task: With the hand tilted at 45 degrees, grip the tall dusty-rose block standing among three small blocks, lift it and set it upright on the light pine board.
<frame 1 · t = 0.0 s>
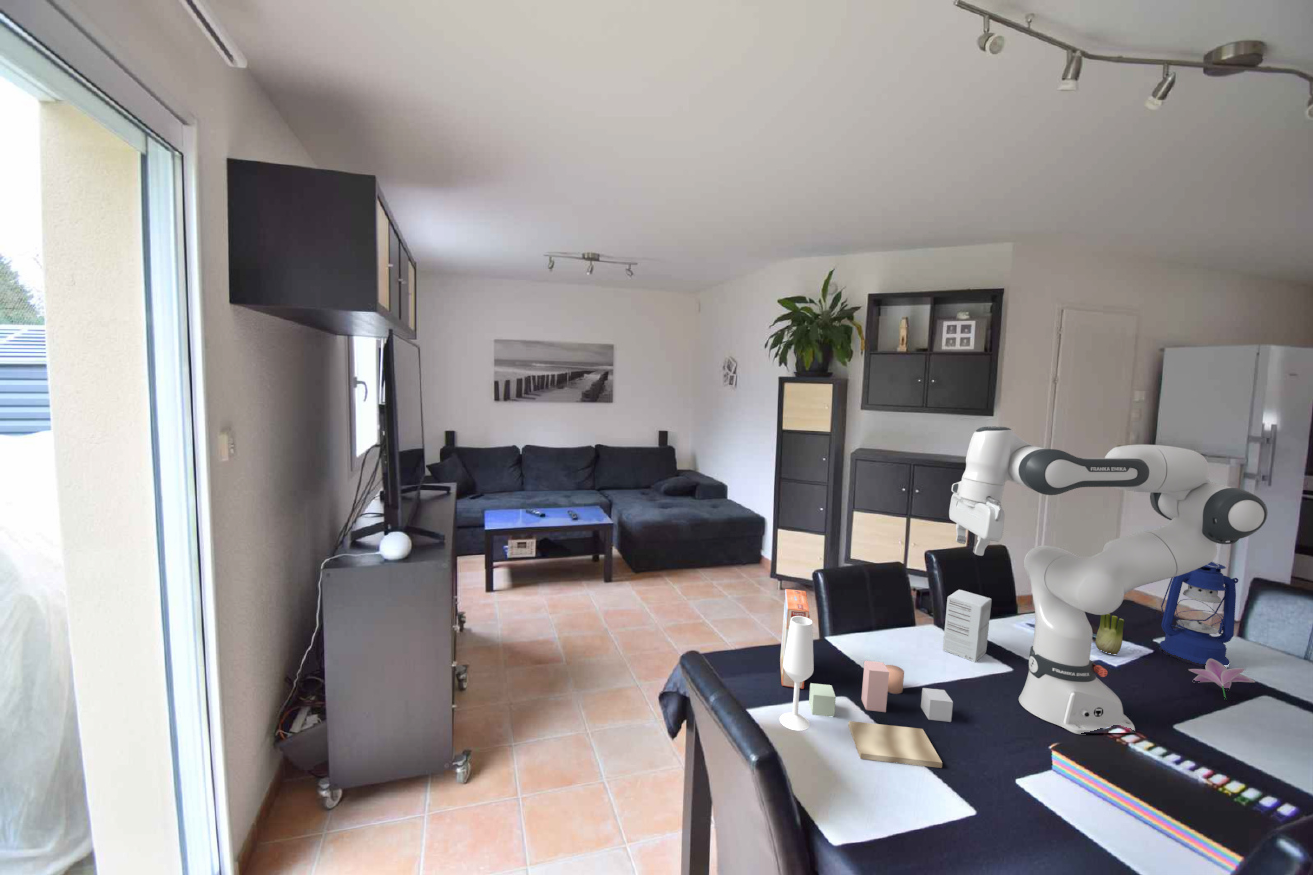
hand: (968, 548, 132), 39 cm above the table, tool pointing down, fingers open, 8 cm apart
rose block: (873, 705, 132), on the table
terracotta cylinder: (891, 688, 140), on the table
sage painted block: (821, 709, 130), on the table
supplement box: (964, 652, 162), on the table
cracker box: (791, 675, 145), on the table
champagne flute: (794, 722, 125), on the table
fennel bulb: (1106, 653, 165), on the table
grey plastic block: (935, 714, 130), on the table
pine board: (892, 745, 117), on the table
lily: (1217, 694, 144), on the table
lantern: (1193, 656, 165), on the table
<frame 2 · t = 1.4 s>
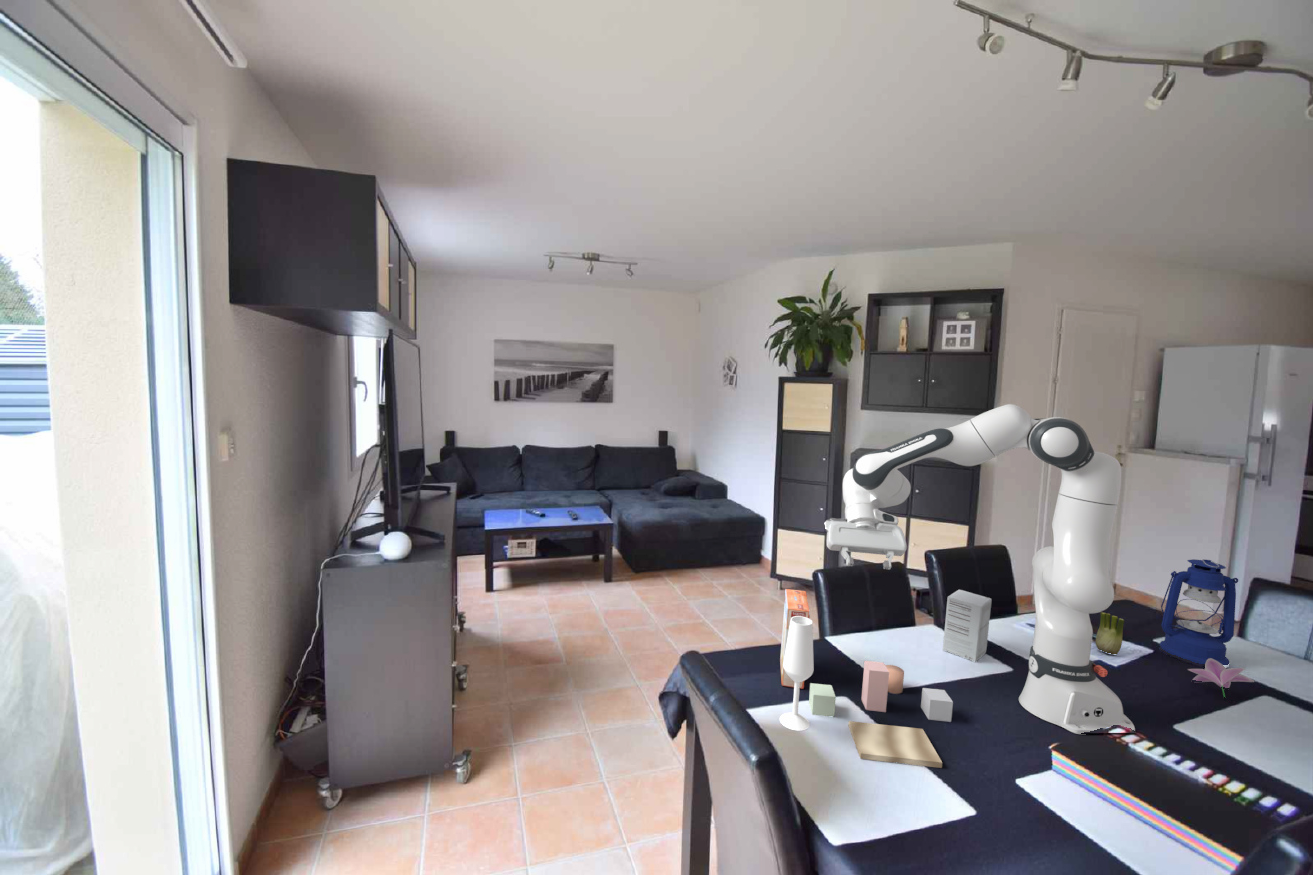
hand: (868, 566, 142), 30 cm above the table, tool tilted 45°, fingers open, 8 cm apart
nothing on the table moved.
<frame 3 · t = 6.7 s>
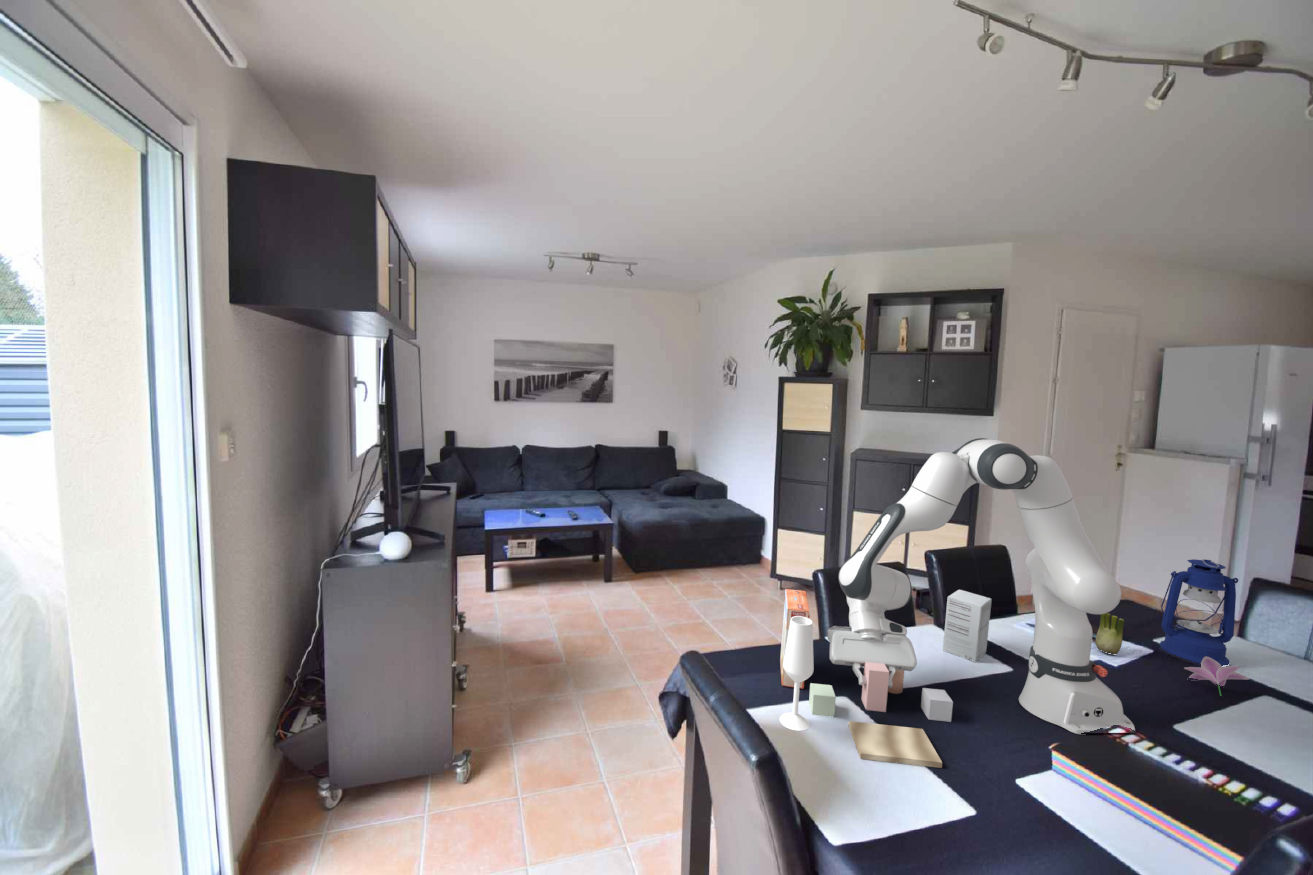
hand: (875, 685, 131), 5 cm above the table, tool tilted 45°, fingers closed on rose block, 4 cm apart
rose block: (873, 705, 132), on the table, touching gripper
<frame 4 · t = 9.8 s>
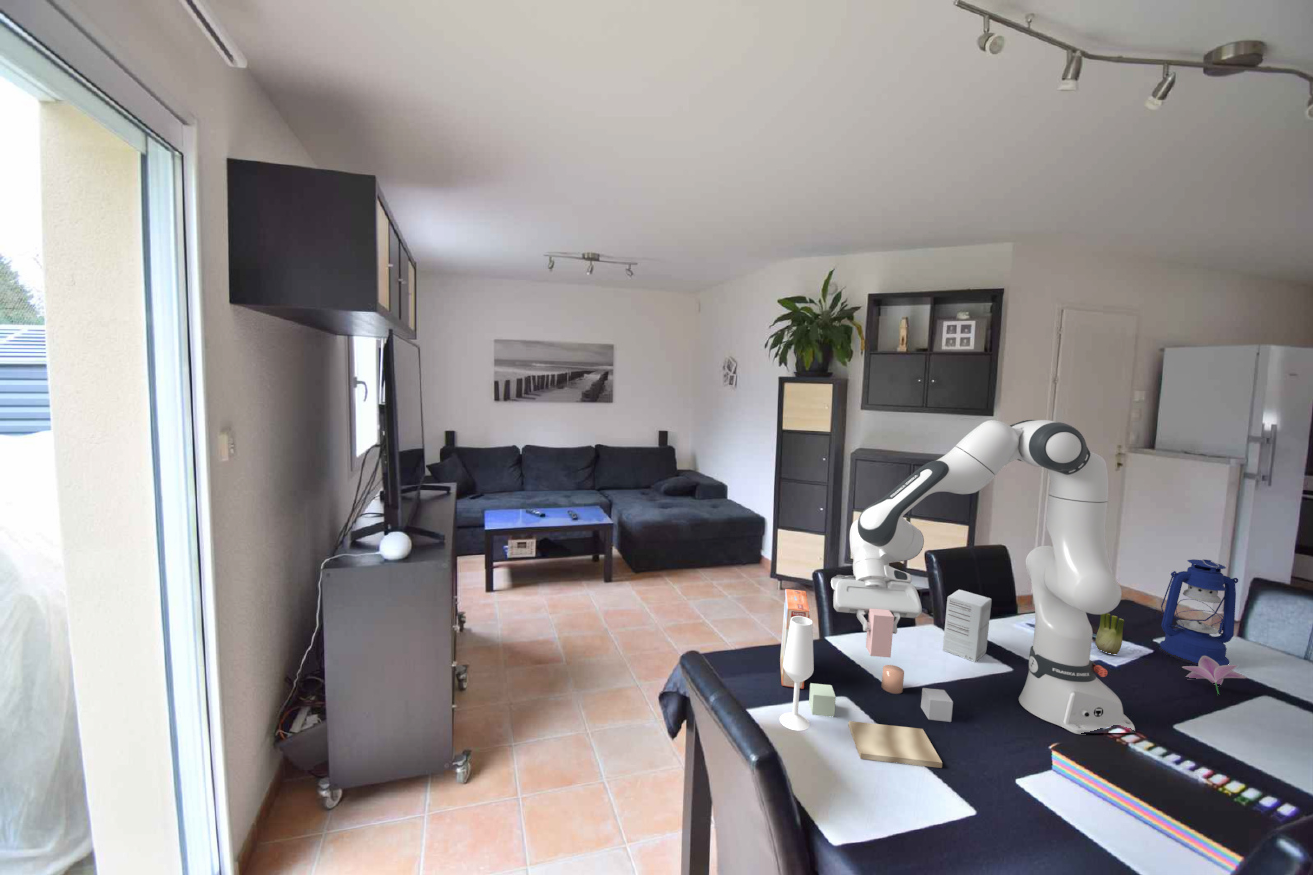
hand: (880, 631, 130), 19 cm above the table, tool tilted 45°, fingers closed on rose block, 4 cm apart
rose block: (877, 652, 131), point 14 cm above the table, touching gripper
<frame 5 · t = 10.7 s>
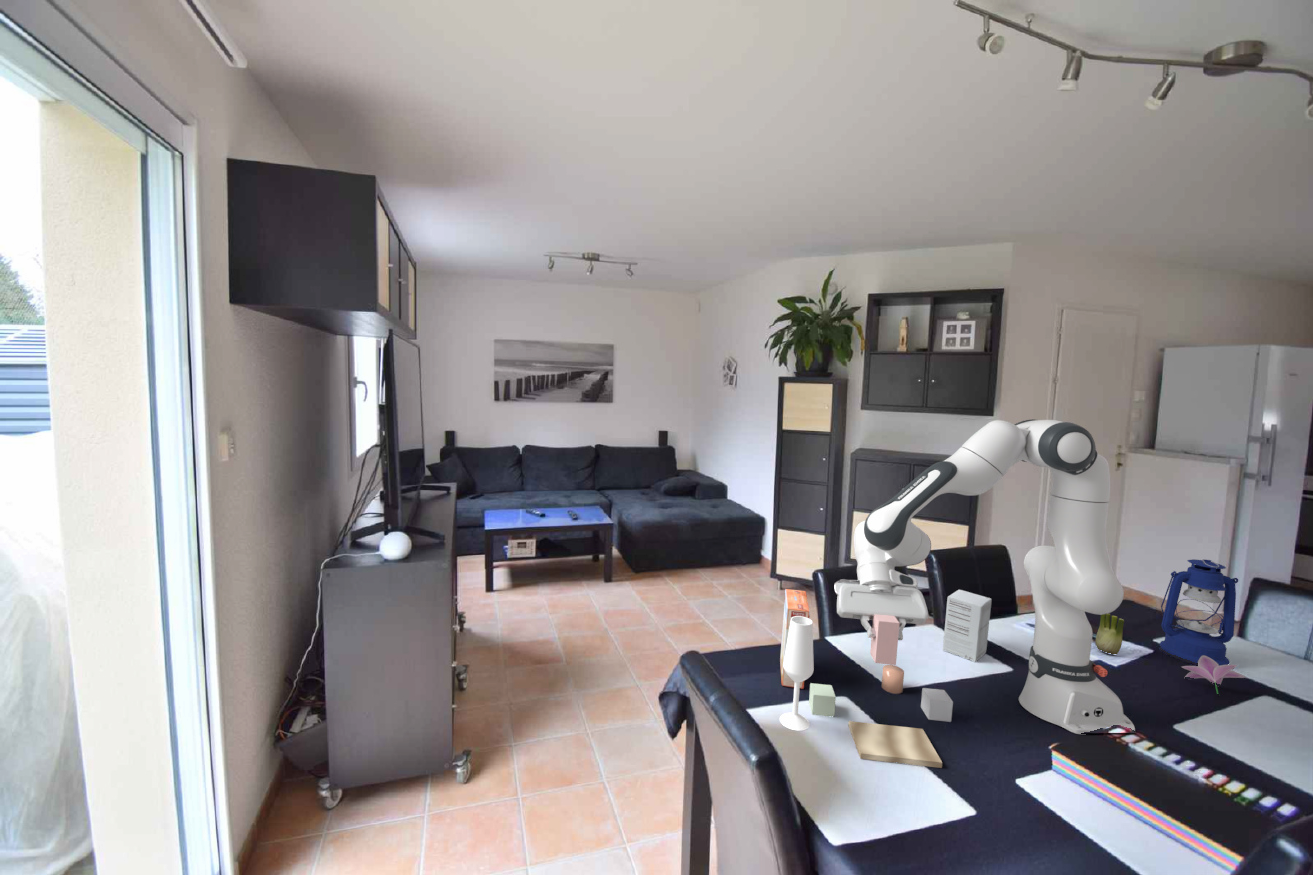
hand: (885, 638, 125), 19 cm above the table, tool tilted 45°, fingers closed on rose block, 4 cm apart
rose block: (882, 659, 127), point 14 cm above the table, touching gripper
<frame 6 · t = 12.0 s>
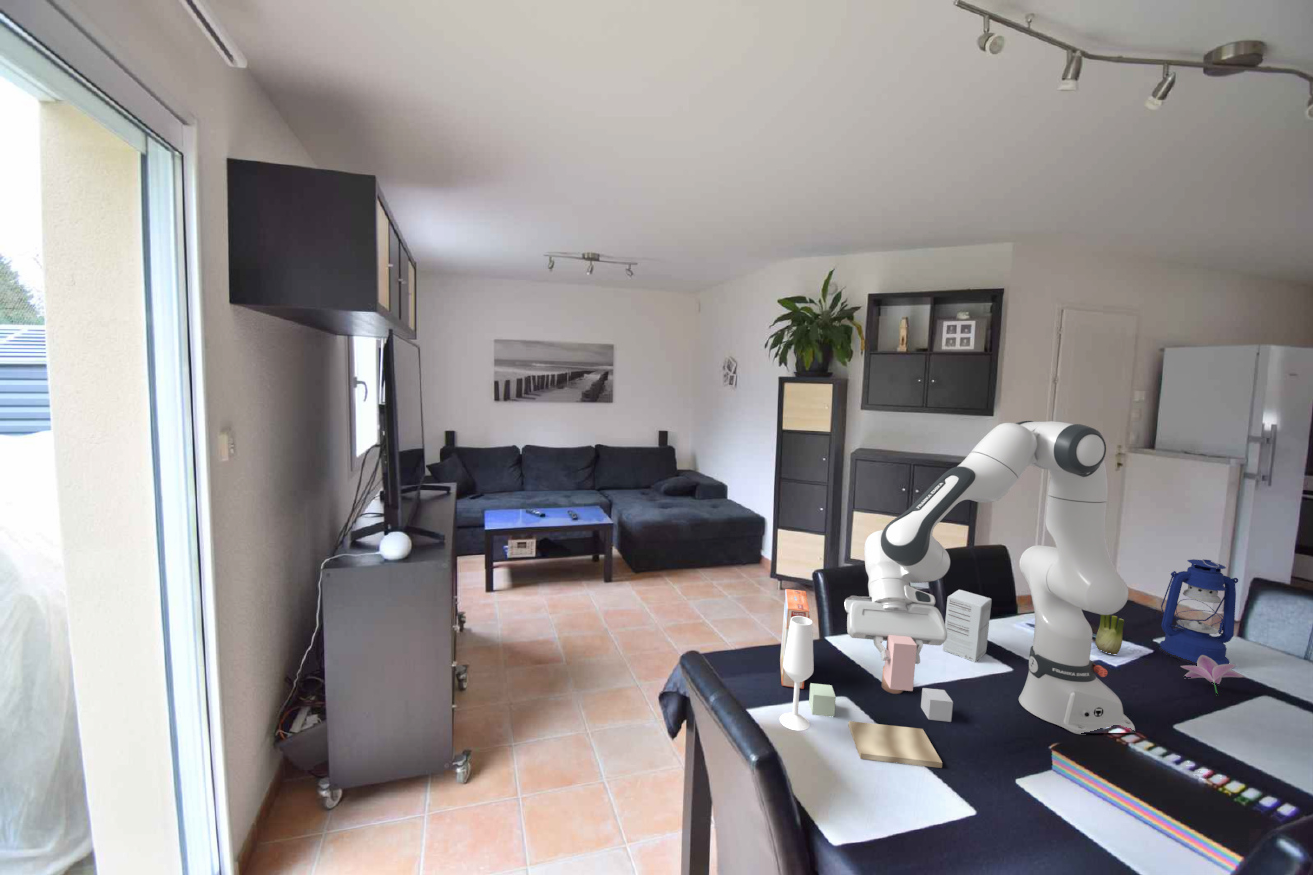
hand: (901, 661, 115), 19 cm above the table, tool tilted 45°, fingers closed on rose block, 4 cm apart
rose block: (897, 684, 116), point 14 cm above the table, touching gripper
when the fingers open (8 cm above the table, at t = 15.3 s): rose block drops 1 cm, resting on pine board.
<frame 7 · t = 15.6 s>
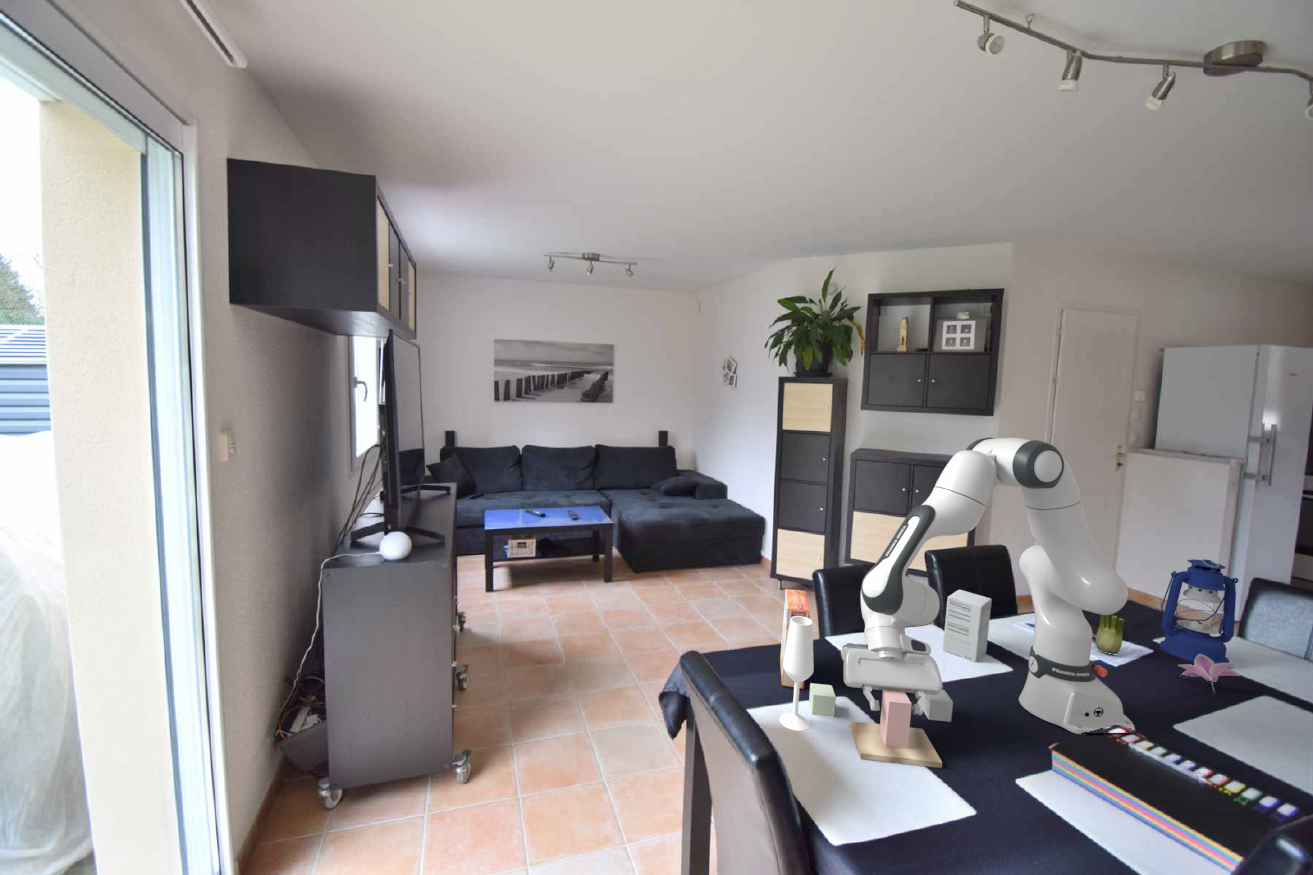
hand: (896, 712, 116), 8 cm above the table, tool tilted 45°, fingers open, 7 cm apart
rose block: (893, 740, 117), point 1 cm above the table, touching pine board
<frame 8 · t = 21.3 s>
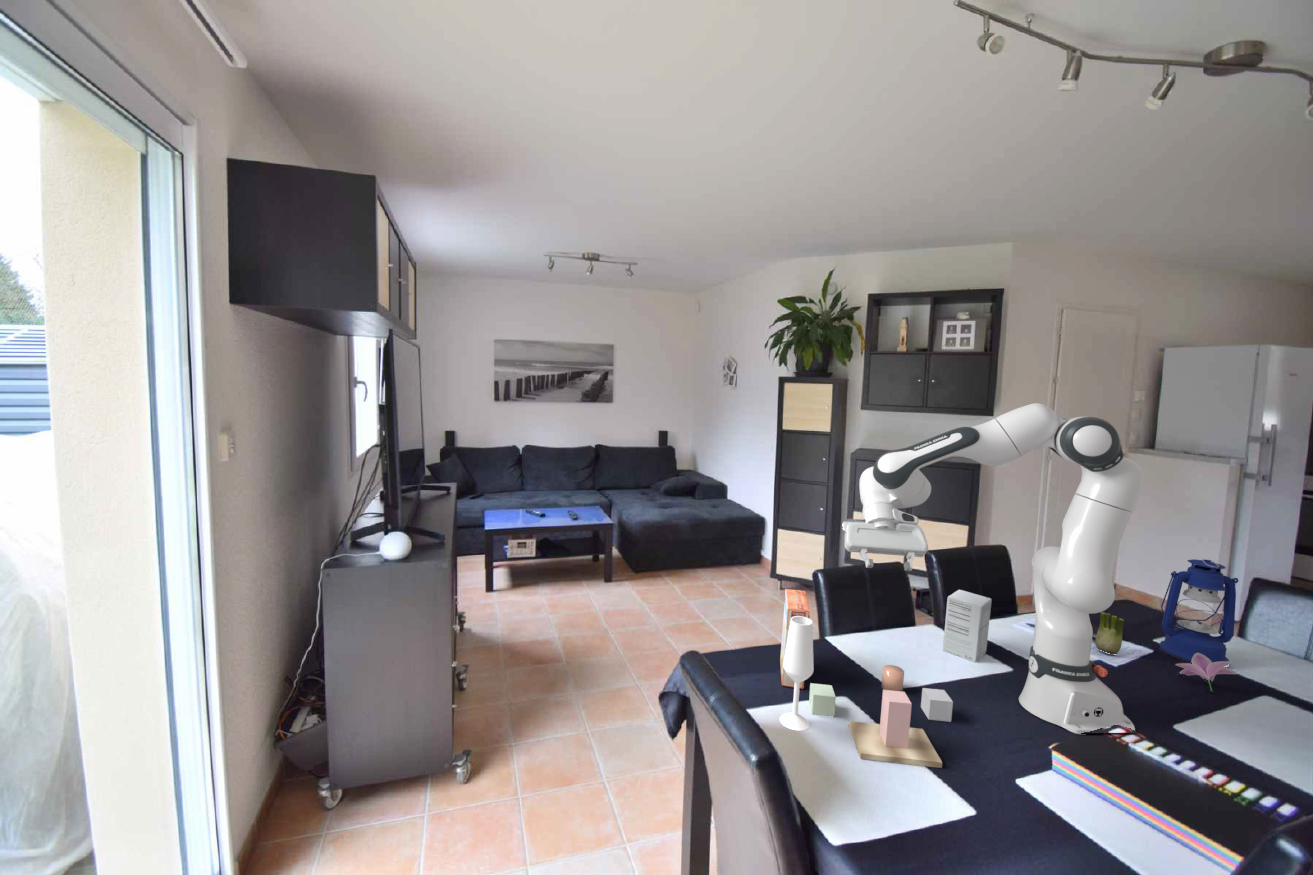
hand: (889, 568, 138), 31 cm above the table, tool tilted 45°, fingers open, 8 cm apart
at the end: rose block inside the target area on the pine board (0.0 cm from its centre), point 1.2 cm above the pine board's base; rose block tilted 0°; the gripper is holding nothing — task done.
